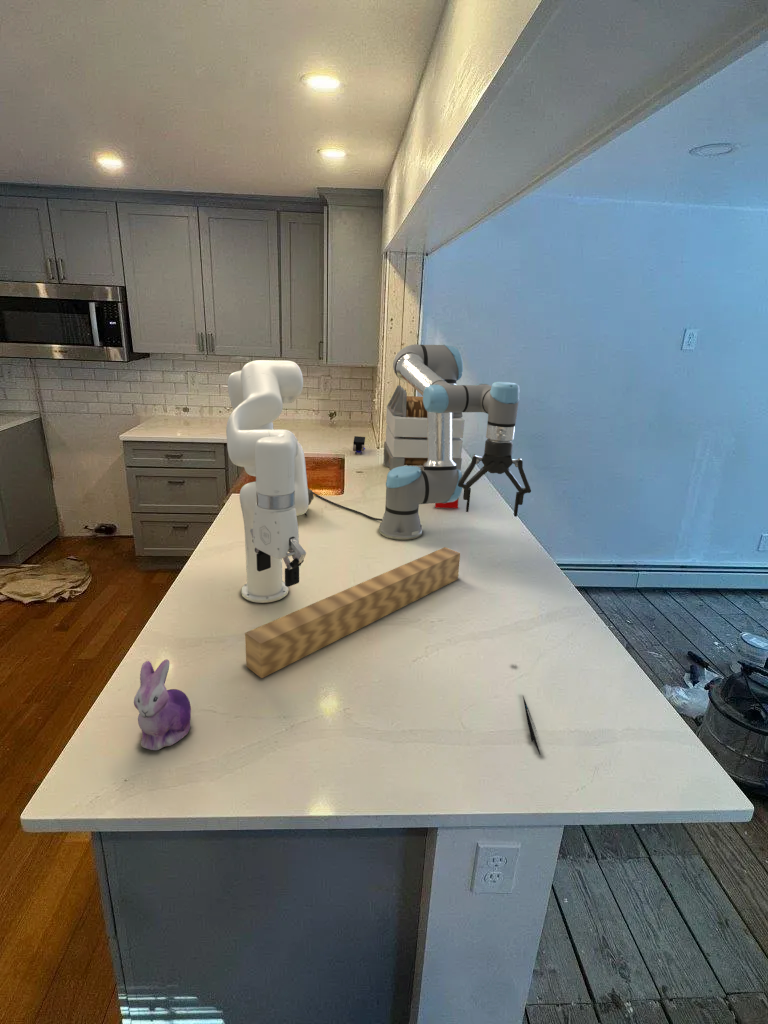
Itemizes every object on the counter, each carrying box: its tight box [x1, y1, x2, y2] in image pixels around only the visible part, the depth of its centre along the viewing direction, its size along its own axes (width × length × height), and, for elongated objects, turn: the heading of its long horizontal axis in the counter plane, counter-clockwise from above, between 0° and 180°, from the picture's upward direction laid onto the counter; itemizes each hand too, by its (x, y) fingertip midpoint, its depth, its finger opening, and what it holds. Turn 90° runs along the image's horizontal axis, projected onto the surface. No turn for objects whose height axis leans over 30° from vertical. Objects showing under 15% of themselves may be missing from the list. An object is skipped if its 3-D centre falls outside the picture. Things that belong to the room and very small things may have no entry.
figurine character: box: [352, 435, 366, 455], centre depth 308 cm, size 7×8×15 cm
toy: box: [434, 497, 460, 509], centre depth 239 cm, size 12×13×30 cm
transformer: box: [383, 384, 465, 472], centre depth 268 cm, size 34×33×41 cm
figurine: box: [133, 658, 192, 751], centre depth 101 cm, size 9×10×15 cm
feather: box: [513, 664, 541, 755], centre depth 114 cm, size 2×28×2 cm
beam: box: [244, 546, 461, 679], centre depth 144 cm, size 70×6×9 cm, turn 137°
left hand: (277, 576), depth 119 cm, fingers open, 9 cm apart
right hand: (491, 512), depth 163 cm, fingers open, 13 cm apart
